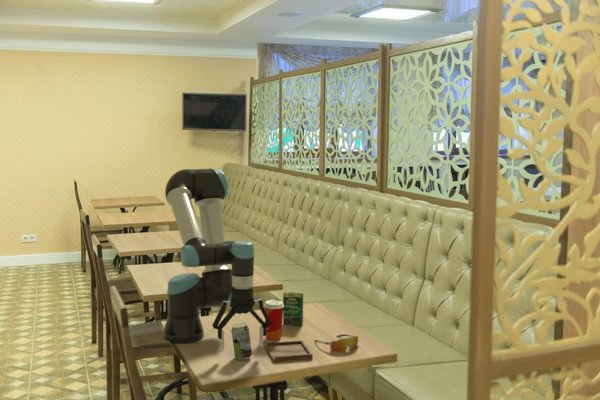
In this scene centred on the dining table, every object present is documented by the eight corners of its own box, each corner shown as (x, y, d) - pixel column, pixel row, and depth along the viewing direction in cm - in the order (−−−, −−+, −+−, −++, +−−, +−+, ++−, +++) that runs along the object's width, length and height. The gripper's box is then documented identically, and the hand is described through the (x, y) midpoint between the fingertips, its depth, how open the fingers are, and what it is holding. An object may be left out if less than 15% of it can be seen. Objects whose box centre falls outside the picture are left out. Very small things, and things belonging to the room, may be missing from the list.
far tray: (265, 347, 238) (265, 342, 238) (302, 345, 241) (302, 340, 241) (273, 362, 224) (273, 357, 224) (312, 359, 228) (312, 354, 228)
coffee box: (281, 324, 264) (282, 292, 262) (284, 322, 267) (285, 290, 265) (300, 326, 261) (301, 295, 259) (303, 324, 264) (304, 293, 262)
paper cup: (268, 333, 253) (269, 298, 251) (286, 336, 250) (287, 301, 248) (259, 339, 245) (260, 303, 243) (278, 343, 243) (279, 306, 241)
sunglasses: (334, 355, 233) (333, 341, 233) (310, 347, 245) (309, 334, 245) (365, 348, 240) (364, 334, 240) (340, 341, 253) (339, 328, 253)
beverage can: (249, 362, 224) (249, 328, 222) (228, 360, 225) (229, 326, 224) (254, 355, 230) (254, 322, 228) (234, 353, 231) (234, 320, 230)
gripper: (207, 291, 217) (207, 352, 220) (280, 287, 224) (279, 347, 226) (204, 285, 224) (204, 344, 227) (275, 282, 231) (274, 340, 234)
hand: (242, 346), depth 227 cm, fingers open, 13 cm apart
